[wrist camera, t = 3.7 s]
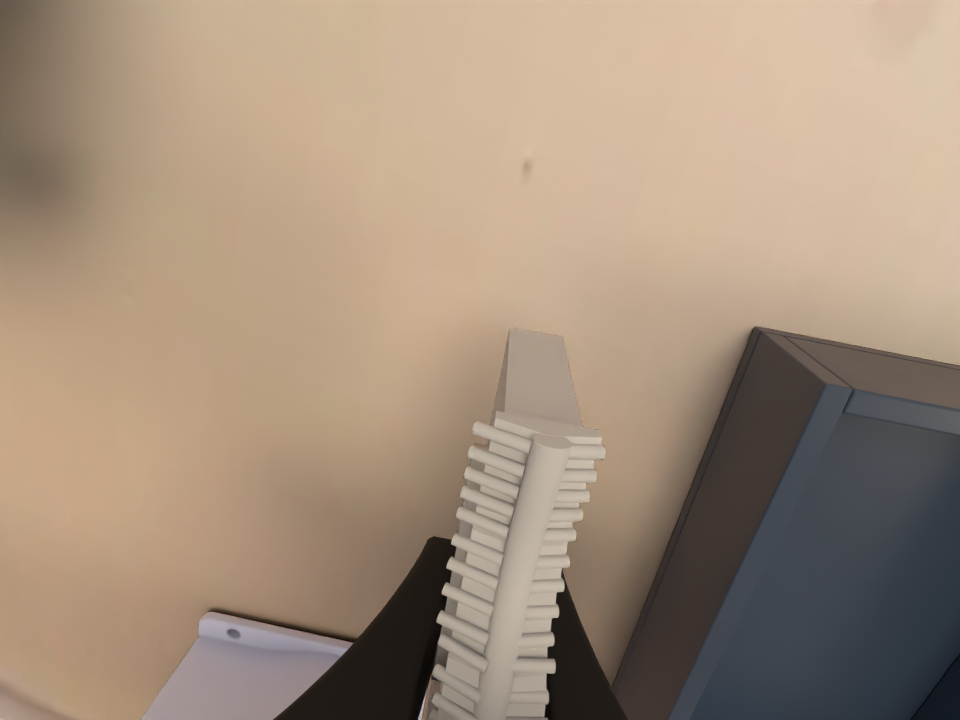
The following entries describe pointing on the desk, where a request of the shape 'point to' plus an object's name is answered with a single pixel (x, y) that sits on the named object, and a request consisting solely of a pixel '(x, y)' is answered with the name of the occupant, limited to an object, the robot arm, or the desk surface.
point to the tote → (812, 548)
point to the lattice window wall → (513, 539)
